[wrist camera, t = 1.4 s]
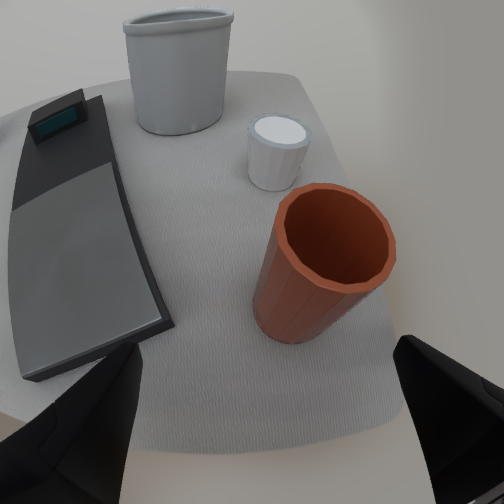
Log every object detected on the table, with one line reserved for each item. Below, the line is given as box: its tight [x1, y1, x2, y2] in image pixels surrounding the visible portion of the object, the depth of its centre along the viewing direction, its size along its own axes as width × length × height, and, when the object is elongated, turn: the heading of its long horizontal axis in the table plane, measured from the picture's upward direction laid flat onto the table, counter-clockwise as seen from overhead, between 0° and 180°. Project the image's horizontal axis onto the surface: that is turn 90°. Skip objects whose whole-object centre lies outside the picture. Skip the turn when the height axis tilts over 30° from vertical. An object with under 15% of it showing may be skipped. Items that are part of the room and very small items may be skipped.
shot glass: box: [248, 114, 312, 192], centre depth 29 cm, size 7×7×7 cm
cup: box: [253, 183, 396, 344], centre depth 19 cm, size 7×7×12 cm
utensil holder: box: [123, 7, 234, 135], centre depth 31 cm, size 15×15×18 cm
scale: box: [8, 89, 175, 382], centre depth 26 cm, size 44×16×6 cm, turn 29°
